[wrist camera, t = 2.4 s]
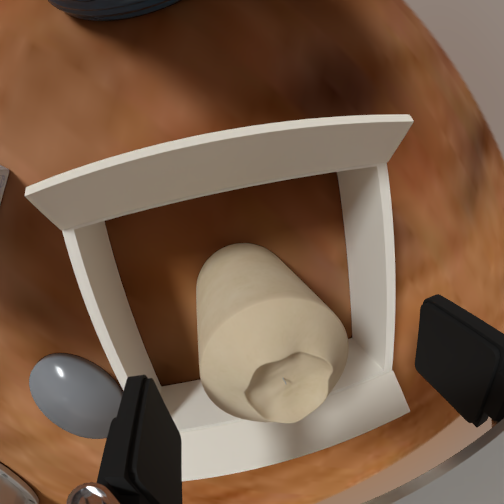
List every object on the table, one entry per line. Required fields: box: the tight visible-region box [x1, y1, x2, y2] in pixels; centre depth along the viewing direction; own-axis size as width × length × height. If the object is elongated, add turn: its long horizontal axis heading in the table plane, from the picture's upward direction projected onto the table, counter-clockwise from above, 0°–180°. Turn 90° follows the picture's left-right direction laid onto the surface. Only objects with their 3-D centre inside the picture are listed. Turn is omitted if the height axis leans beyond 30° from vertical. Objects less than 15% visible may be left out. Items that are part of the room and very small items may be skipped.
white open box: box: [25, 114, 414, 481], centre depth 15 cm, size 16×15×7 cm
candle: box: [196, 243, 349, 423], centre depth 14 cm, size 6×6×10 cm
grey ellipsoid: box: [29, 353, 123, 439], centre depth 18 cm, size 8×8×1 cm
